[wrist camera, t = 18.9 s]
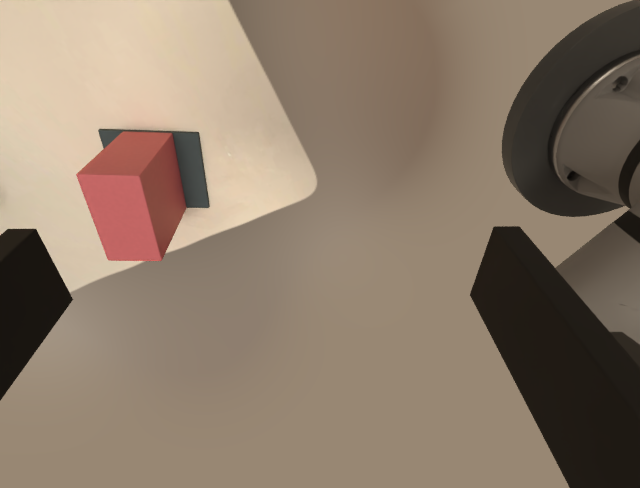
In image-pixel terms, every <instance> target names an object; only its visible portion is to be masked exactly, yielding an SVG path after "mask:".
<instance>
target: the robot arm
mask: <svg viewBox="0 0 640 488" xmlns="http://www.w3.org/2000/svg"><path fill="white" fill-rule="evenodd" d="M548 161H549V164H550V167H551V170H552V172H553V173H554V175H555V176H556V177H557V178H558V179H559V180H560V181H561V182H562V183H564V184H565V185H566V186H568V187H569V188H570V189H572V190H573V191H575V192H577V193H580V194H583V195H586V196H590V197H593V198H597V199H601V200H605V201H609V202H613V203H617V204H620V205H624V206H627V207H628V208H630V209H629V210H628V211H627V212H625V213H624V214H623V215H622V216H621V217H619V218H618V219H617V220H615V221H614V222H613V223H612V224H610V225H609V226H607V227H606V228H605V229H604V230H602V231H601V232H600V233H599V234H597V235H596V236H595V237H594V238H592V239H591V240H590V241H589V242H587V243H586V244H585V245H584V246H582V247H581V248H580V249H579V250H577V251H576V252H575V253H574V254H572V255H571V256H570V257H569V258H567V259H566V260H565V261H563V262H562V263H561V264H560V265H558V266H557V267H556V268H554V266H553V265H552V264H551V263H550V262H549V261H548V260H547V258H546V257H545V256H544V255H543V254H542V252H541V251H540V250H539V249H538V248H537V247H536V245H535V244H534V243H533V242H532V241H531V240H530V238H529V237H528V236H527V235H526V234H525V233H524V232H523V230H522V229H521V228H520V227H494V228H493V230H492V233H491V236H490V239H489V242H488V245H487V248H486V250H485V253H484V257H483V259H482V262H481V265H480V268H479V270H478V274H477V276H476V279H475V282H474V285H473V288H472V290H471V294H470V296H471V298H472V300H473V302H474V304H475V305H476V307H477V309H478V311H479V313H480V315H481V317H482V319H483V321H484V323H485V325H486V327H487V329H488V331H489V332H490V335H491V336H492V338H493V340H494V342H495V344H496V346H497V348H498V350H499V352H500V354H501V356H502V358H503V360H504V362H505V363H506V365H507V367H508V369H509V371H510V373H511V375H512V377H513V379H514V381H515V383H516V385H517V387H518V389H519V390H520V392H521V394H522V396H523V398H524V400H525V402H526V404H527V406H528V408H529V410H530V412H531V414H532V415H533V418H534V419H535V421H536V423H537V425H538V427H539V429H540V431H541V433H542V435H543V437H544V439H545V441H546V442H547V444H548V447H549V448H550V450H551V452H552V454H553V456H554V458H555V460H556V462H557V464H558V466H559V468H560V470H561V471H562V474H563V476H564V477H565V479H566V481H567V483H568V485H569V487H570V488H640V50H637V51H634V52H631V53H629V54H626V55H624V56H622V57H620V58H618V59H616V60H614V61H612V62H610V63H609V64H607V65H605V66H604V67H602V68H601V69H599V70H598V71H597V72H596V73H594V74H593V75H592V76H591V77H589V78H588V79H587V80H586V81H585V82H584V83H583V84H582V85H581V86H580V87H579V88H578V89H577V90H576V91H575V92H574V93H573V94H572V96H571V97H570V98H569V99H568V101H567V102H566V103H565V105H564V106H563V108H562V109H561V111H560V113H559V115H558V116H557V118H556V120H555V123H554V125H553V127H552V130H551V133H550V137H549V142H548ZM72 300H73V299H72V297H71V295H70V293H69V291H68V289H67V287H66V285H65V283H64V282H63V280H62V278H61V276H60V274H59V272H58V270H57V268H56V266H55V264H54V263H53V261H52V259H51V257H50V255H49V253H48V251H47V249H46V247H45V245H44V243H43V242H42V240H41V238H40V236H39V234H38V232H37V230H36V229H7V230H6V231H5V232H4V233H3V234H1V235H0V400H1V399H2V397H3V396H4V395H5V393H6V392H7V390H8V389H9V388H10V386H11V385H12V384H13V382H14V381H15V379H16V378H17V377H18V375H19V374H20V372H21V371H22V370H23V368H24V367H25V365H26V364H27V363H28V361H29V360H30V358H31V357H32V355H33V354H34V352H36V350H37V349H38V347H39V346H40V344H41V343H42V342H43V340H44V339H45V338H46V336H47V335H48V333H49V332H50V331H51V329H52V328H53V326H54V325H55V324H56V322H57V321H58V319H59V318H60V317H61V315H62V314H63V313H64V311H65V310H66V308H67V307H68V306H69V304H70V303H71V301H72Z"/></svg>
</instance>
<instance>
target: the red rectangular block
mask: <svg viewBox="0 0 640 488" xmlns="http://www.w3.org/2000/svg"><path fill="white" fill-rule="evenodd" d="M76 175H77V178H78V181H79V183H80V186H81V189H82V192H83V194H84V197H85V200H86V202H87V205H88V208H89V210H90V213H91V216H92V218H93V221H94V224H95V226H96V229H97V232H98V234H99V237H100V240H101V242H102V245H103V248H104V251H105V253H106V256H107V259H108V260H116V261H161V260H162V259H163V257H164V255H165V252H166V250H167V248H168V246H169V244H170V242H171V240H172V237H173V235H174V233H175V231H176V229H177V227H178V225H179V223H180V220H181V218H182V216H183V214H184V212H185V210H186V202H185V197H184V192H183V186H182V181H181V176H180V171H179V165H178V160H177V155H176V149H175V144H174V139H173V134H172V133H155V132H124V131H123V132H122V133H121V134H120V135H119V136H117V137H116V138H115V139H114V140H113V141H112V142H111V143H110V144H109V145H108V146H107V147H105V148H104V149H103V150H102V151H101V152H100V153H99V154H98V155H97V156H96V157H95V158H94V159H92V160H91V161H90V162H89V163H88V164H87V165H86V166H85V167H84V168H83V169H82V170H81V171H79V172H78V173H77V174H76Z"/></svg>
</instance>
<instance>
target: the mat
mask: <svg viewBox="0 0 640 488" xmlns="http://www.w3.org/2000/svg"><path fill="white" fill-rule="evenodd" d="M98 131H99V135H100V138H101V141H102V144H103V148H105V147H107V146H108V145H109V144H110V143H111V142H112V141H113V140H114V139H115V138H116V137H117V136H119V135H120V134H121V133H122V132H123V131H124V132H155V133H172V134H173V139H174V144H175V149H176V155H177V160H178V165H179V171H180V176H181V181H182V186H183V192H184V197H185V202H186V207H188V208H209V200H208V193H207V186H206V179H205V172H204V166H203V159H202V152H201V145H200V138H199V132H173V131H142V130H111V129H99V130H98Z"/></svg>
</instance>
